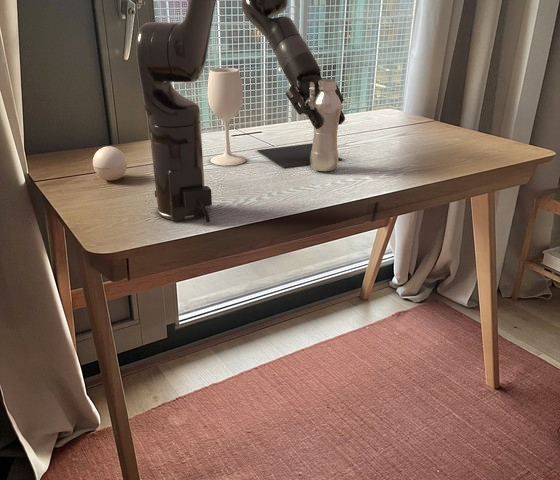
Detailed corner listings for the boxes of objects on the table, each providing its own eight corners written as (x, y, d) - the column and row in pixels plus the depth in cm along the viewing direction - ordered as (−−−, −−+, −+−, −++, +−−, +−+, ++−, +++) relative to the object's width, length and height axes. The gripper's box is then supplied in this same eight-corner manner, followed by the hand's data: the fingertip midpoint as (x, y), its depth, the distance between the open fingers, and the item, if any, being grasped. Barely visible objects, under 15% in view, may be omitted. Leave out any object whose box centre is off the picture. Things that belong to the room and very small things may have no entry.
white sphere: (122, 172, 132) (118, 140, 128) (133, 181, 126) (129, 148, 123) (79, 179, 127) (73, 147, 123) (89, 189, 122) (83, 155, 118)
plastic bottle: (310, 165, 137) (312, 77, 127) (338, 166, 137) (343, 78, 127) (308, 173, 132) (311, 82, 122) (338, 174, 131) (343, 83, 121)
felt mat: (342, 160, 141) (342, 159, 141) (283, 168, 135) (283, 167, 135) (311, 144, 154) (311, 143, 153) (257, 151, 148) (257, 150, 148)
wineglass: (240, 167, 136) (237, 73, 125) (205, 164, 137) (200, 72, 127) (249, 157, 143) (247, 67, 132) (216, 154, 145) (211, 66, 134)
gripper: (280, 53, 122) (316, 119, 121) (328, 48, 131) (362, 110, 129) (265, 76, 129) (299, 139, 127) (312, 70, 137) (344, 129, 135)
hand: (331, 124), depth 128 cm, fingers closed on plastic bottle, 6 cm apart
